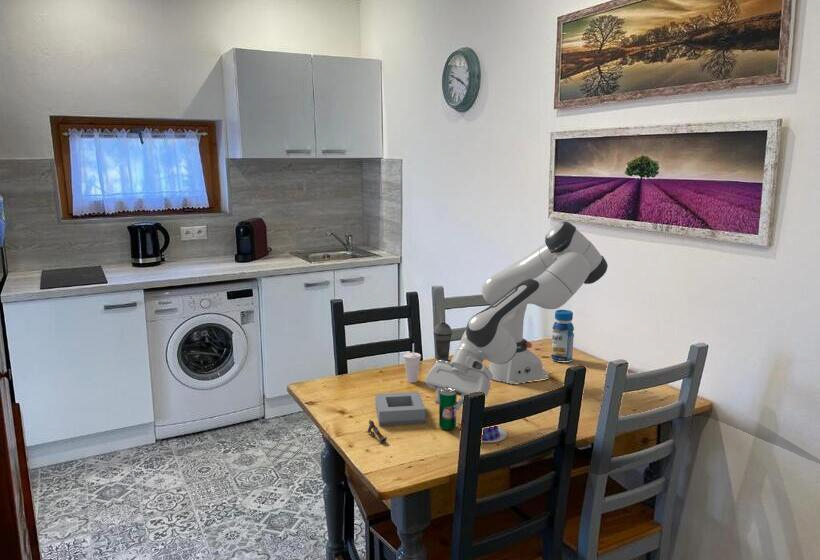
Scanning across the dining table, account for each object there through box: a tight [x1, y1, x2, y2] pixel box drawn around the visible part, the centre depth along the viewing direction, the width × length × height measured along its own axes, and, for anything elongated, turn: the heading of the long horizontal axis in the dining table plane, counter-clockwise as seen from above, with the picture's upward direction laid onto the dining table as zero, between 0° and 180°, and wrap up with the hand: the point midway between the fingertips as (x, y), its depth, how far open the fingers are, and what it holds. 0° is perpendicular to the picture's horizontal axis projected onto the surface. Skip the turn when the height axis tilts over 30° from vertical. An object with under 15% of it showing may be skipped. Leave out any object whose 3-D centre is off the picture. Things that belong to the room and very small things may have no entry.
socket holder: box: [374, 391, 427, 427], centre depth 187 cm, size 14×14×4 cm
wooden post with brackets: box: [367, 419, 388, 444], centre depth 172 cm, size 2×8×4 cm, turn 37°
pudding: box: [481, 425, 508, 443], centre depth 173 cm, size 12×12×5 cm
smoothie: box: [402, 343, 422, 384], centre depth 215 cm, size 6×6×14 cm
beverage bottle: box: [550, 309, 575, 361], centre depth 237 cm, size 8×8×20 cm
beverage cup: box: [433, 311, 453, 362], centre depth 236 cm, size 7×7×20 cm
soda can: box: [438, 387, 458, 431], centre depth 177 cm, size 5×5×12 cm
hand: (446, 406), depth 177 cm, fingers closed on soda can, 5 cm apart
